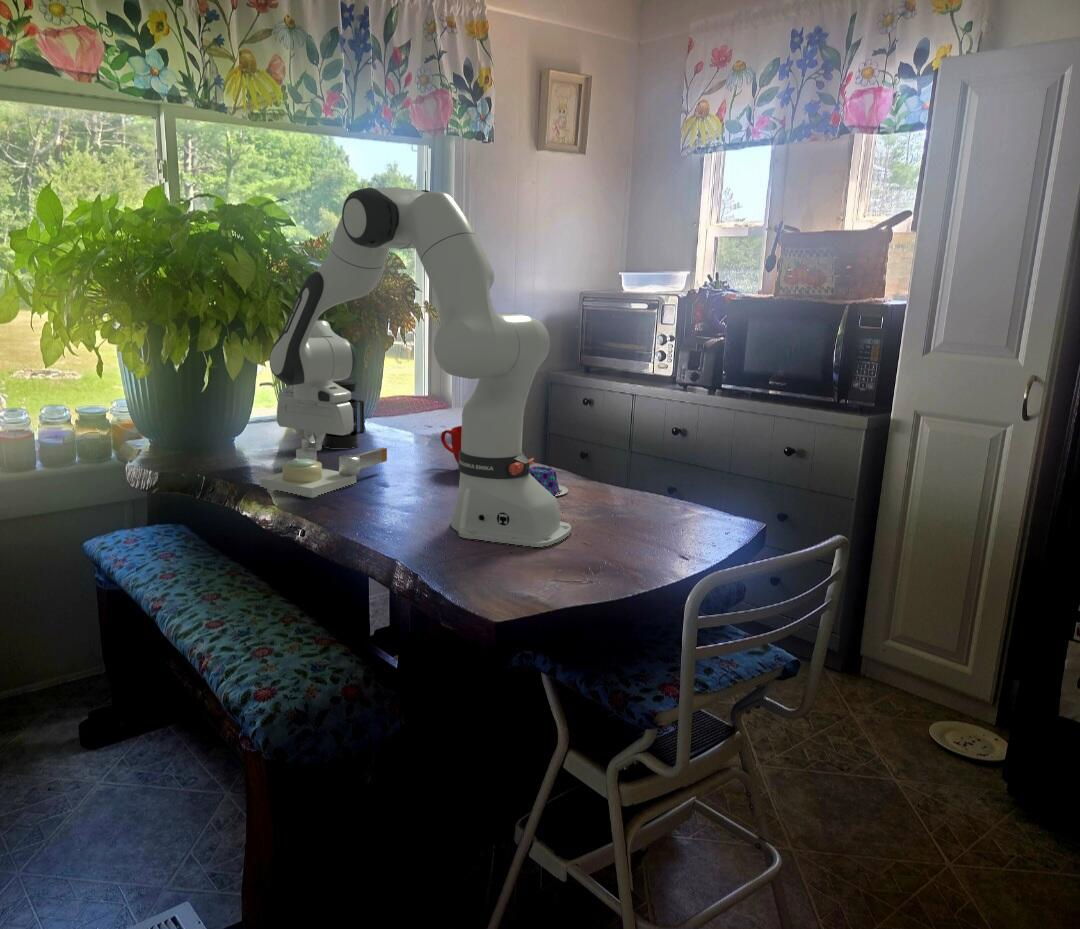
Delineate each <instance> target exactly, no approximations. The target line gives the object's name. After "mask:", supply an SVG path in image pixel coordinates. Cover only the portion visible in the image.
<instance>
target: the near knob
mask: <svg viewBox="0 0 1080 929" xmlns="http://www.w3.org/2000/svg"><path fill="white" fill-rule="evenodd" d="M387 461H388V448H386V447H380V448H376V449H373V450H369V451H366V452H361V453H358V454H344V455H340V456H338V471H339V474H340V475H343V476H355V475H356V476H359V475H360V474H361V470H362V469H364V468H368V467H371V466H375V465H378V464H382V463H384V462H385V463H386V462H387Z"/></svg>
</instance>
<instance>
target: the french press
mask: <svg viewBox="0 0 1080 929" xmlns="http://www.w3.org/2000/svg"><path fill="white" fill-rule="evenodd" d="M333 383H336V384H337V385H339V386H341V387H342V388H344V389H346V390H348V391H350V392H351V393H355V392H356V391H357V390H356V389H357V385H358V382H357V381H356V380H349V379H344V380H338V381H333ZM348 402H349V403H350V404H351V406H352V410H353V430H352V432H351V433H350V434H346V435H335V434H328V433H325V437H324V439H323V441H322V445H323V446H325V447H329V448H352V447H357V446H358V445H360V444H359V435H361V434H364V433H365V416H364V415H365V408H364V407H365V403H364V400H362V399H354V398H351V399H350V400H348ZM358 403H359V404H358ZM358 406H359V430H358ZM358 447H359V446H358ZM358 447H357V448H358Z"/></svg>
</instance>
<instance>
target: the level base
mask: <svg viewBox="0 0 1080 929" xmlns="http://www.w3.org/2000/svg"><path fill="white" fill-rule="evenodd" d="M281 467H282V470H281V471H282V472H277V473H273V474H270V475H267V476H264V477H259V484H260V485H259V487H260V488H261V487H264V488H263V489H266V488H268V489H267V490H271V489H274V490H273V491H275V490H279V491H278V492H280V491H284V492H283V493H285V492H288V493H287V494H290V493H293V494H292V495H295V494H297V495H296V496H300V495H301V497H306V498H310V499H313V498H316V497H319V496H318V495H320V496H322V495H321V494H323V495H325V494H324V493H326V494H328V493H327V492H329V493H331V492H330V491H332V492H334V491H333V490H335V491H337V490H336V489H338V490H340V489H339V488H341V489H343V488H342V487H344V488H346V487H345V486H347V487H349V486H348V485H350V486H352V485H351V484H353V485H355V484H354V483H356V484H357V475H355V476H343V475H340V474H339V470H338V471H337V470H333V469H327V468H323V463H322V462H320V461H318V460H317V461H314V460H310V459H296V457H295V458H293V459H292V460H289V461H285V462H283V463H282V464H281Z"/></svg>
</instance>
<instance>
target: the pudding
mask: <svg viewBox="0 0 1080 929" xmlns="http://www.w3.org/2000/svg"><path fill="white" fill-rule="evenodd" d="M529 471H530V472H529V473H530V474H531V475H532V476H533V477H534V478H535V479H536V480H537V481H538V482H539V483H540V484H541V485H542V486H543V487H544V488H545V489H546V490H548V491H549V492H550V493H551V494H552V495H555V494H556V495H555V496H554V497H558V496H562V495H565V494H567V493H568V492H569V489H568V488H567V487H566V486H564V485H561V484H559V481H558V479H557V478H558V477H557V473H556V471H555V469H553V468H552V467H549V466H548V467H547V466H533V467H529ZM559 489H560V490H562V492H561V493H560V492H559ZM557 492H559V493H560V494H559V493H557ZM557 494H558V495H557Z"/></svg>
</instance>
